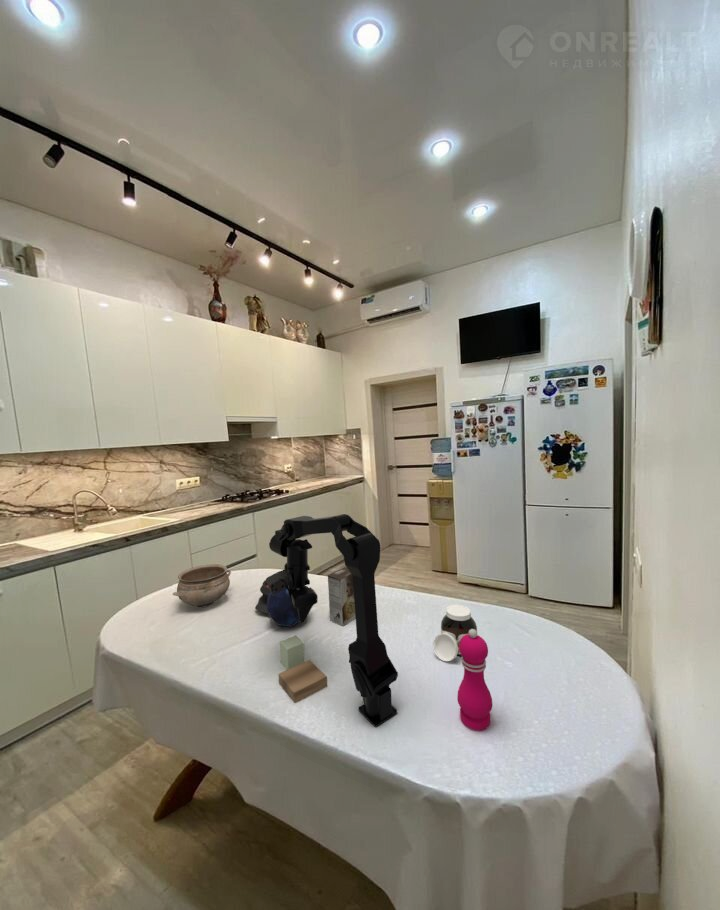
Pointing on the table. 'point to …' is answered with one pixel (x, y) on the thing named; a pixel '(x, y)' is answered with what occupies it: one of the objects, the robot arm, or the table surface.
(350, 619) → the coffee box
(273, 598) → the decorative orb
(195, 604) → the cooking pot
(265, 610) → the casserole
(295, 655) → the sage cube
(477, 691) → the pepper mill
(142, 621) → the table surface
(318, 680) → the walnut block
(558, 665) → the table surface
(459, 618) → the spread jar
